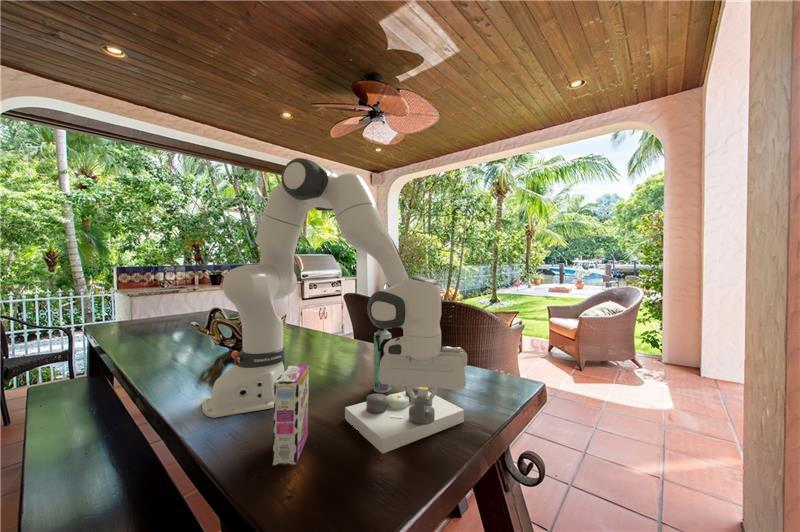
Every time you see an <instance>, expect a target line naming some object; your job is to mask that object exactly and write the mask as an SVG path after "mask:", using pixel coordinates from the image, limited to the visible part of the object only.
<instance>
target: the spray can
mask: <svg viewBox="0 0 800 532" xmlns="http://www.w3.org/2000/svg"><path fill="white" fill-rule="evenodd" d="M391 339H393V338H392V333H391V332H389V331H388V329H383V328H379V329H378V330H377V331H376V332H374V336H373V391H374V392H375V393H377V394H385V393H389V392H391V391H392V385H389V384H382V383H381V382H380V381H379V367H380V361H381V359H382V357H383V356H384V354H385V353H384V346H385V344H386V343H387V342H388V341H389V340H391Z"/></svg>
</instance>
